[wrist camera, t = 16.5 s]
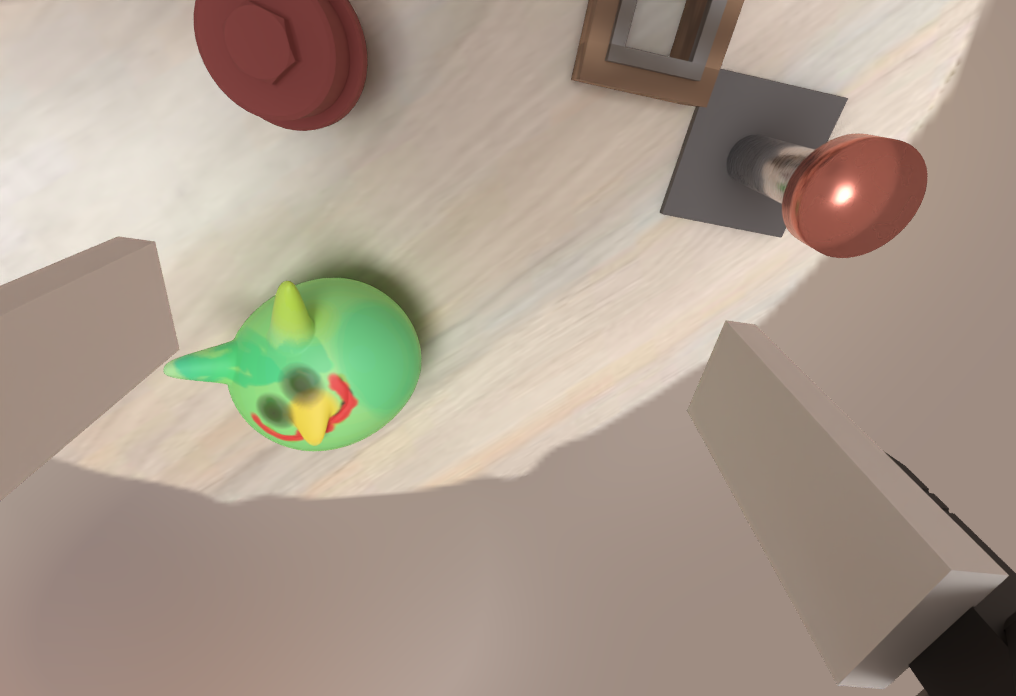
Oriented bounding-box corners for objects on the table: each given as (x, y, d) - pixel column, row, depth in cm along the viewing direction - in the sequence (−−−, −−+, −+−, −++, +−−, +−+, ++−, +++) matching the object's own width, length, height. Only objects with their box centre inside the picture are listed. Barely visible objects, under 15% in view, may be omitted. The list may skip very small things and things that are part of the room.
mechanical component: (244, -15, 36) (372, -30, 36) (286, 128, 41) (399, 116, 41) (133, -57, 25) (315, -80, 25) (209, 144, 30) (362, 128, 30)
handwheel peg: (697, 191, 43) (781, 247, 30) (729, 107, 40) (841, 127, 26) (768, 206, 44) (882, 266, 30) (806, 124, 40) (954, 152, 27)
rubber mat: (709, 67, 39) (713, 67, 38) (842, 98, 40) (848, 98, 39) (659, 212, 45) (662, 214, 44) (777, 235, 46) (781, 237, 45)
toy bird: (341, 418, 56) (293, 516, 44) (226, 314, 50) (129, 394, 37) (459, 342, 51) (445, 428, 39) (350, 214, 45) (288, 267, 32)
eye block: (605, -75, 34) (623, -103, 29) (733, -42, 35) (772, -64, 30) (571, 79, 39) (581, 79, 34) (684, 104, 40) (711, 108, 35)
